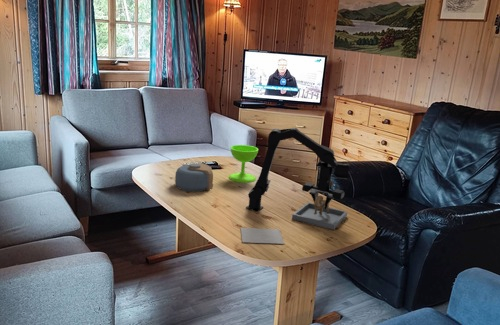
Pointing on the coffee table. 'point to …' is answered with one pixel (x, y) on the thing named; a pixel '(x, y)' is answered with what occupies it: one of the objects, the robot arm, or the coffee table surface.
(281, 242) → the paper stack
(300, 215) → the tray
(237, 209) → the coffee table surface
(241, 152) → the wineglass
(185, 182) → the alarm clock
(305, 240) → the coffee table surface
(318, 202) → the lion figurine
